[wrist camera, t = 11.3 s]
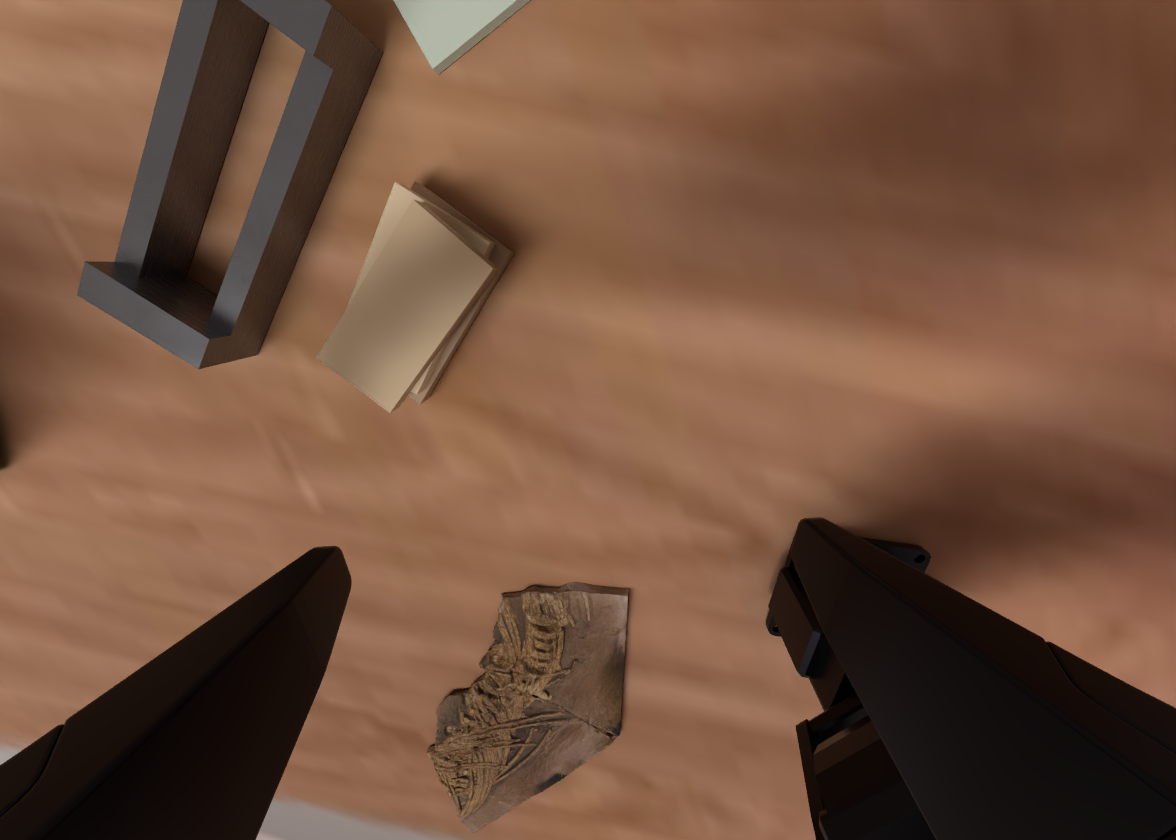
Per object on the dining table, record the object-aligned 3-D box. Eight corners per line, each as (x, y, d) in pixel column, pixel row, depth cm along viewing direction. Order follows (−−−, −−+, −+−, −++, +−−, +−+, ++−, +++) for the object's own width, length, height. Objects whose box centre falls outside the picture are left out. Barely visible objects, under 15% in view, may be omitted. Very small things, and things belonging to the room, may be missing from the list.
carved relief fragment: (532, 540, 23) (528, 552, 22) (705, 620, 24) (709, 635, 23) (389, 792, 32) (382, 809, 31) (522, 842, 33) (519, 860, 32)
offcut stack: (517, 254, 18) (502, 252, 16) (427, 404, 20) (403, 421, 18) (418, 181, 17) (387, 168, 15) (338, 346, 20) (301, 356, 17)
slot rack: (382, 52, 16) (331, 5, 13) (257, 355, 20) (198, 369, 17) (258, -45, 15) (174, -118, 12) (156, 291, 19) (76, 294, 16)
